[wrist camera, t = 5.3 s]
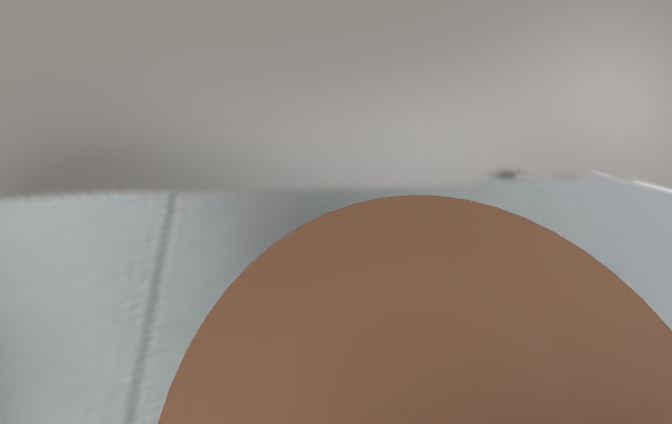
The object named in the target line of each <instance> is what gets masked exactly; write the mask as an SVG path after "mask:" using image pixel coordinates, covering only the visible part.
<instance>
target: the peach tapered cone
mask: <svg viewBox="0 0 672 424" xmlns="http://www.w3.org/2000/svg"><path fill="white" fill-rule="evenodd" d="M158 424H672V331H671V330H670V328H669V327H668V326H667V325H666V324H665V323H664V322H663V321H662V320H661V319H660V318H659V316H658V315H657V314H656V313H655V312H654V311H653V310H652V309H651V308H650V307H649V306H648V304H647V303H646V302H645V301H644V300H643V299H642V298H641V297H640V296H639V295H638V294H636V293H635V292H634V291H633V290H632V289H631V288H630V287H629V286H628V285H627V284H625V283H624V282H623V281H622V280H621V279H620V278H619V277H618V276H617V275H616V274H614V273H613V272H612V271H611V270H609V269H608V268H607V267H605V266H604V265H603V264H601V263H600V262H599V261H597V260H596V259H595V258H593V257H592V256H591V255H590V254H588V253H587V252H586V251H584V250H583V249H581V248H579V247H578V246H576V245H574V244H573V243H571V242H570V241H568V240H566V239H565V238H563V237H561V236H560V235H558V234H557V233H555V232H553V231H551V230H549V229H547V228H545V227H543V226H541V225H539V224H537V223H535V222H532V221H530V220H528V219H526V218H524V217H521V216H518V215H516V214H513V213H510V212H508V211H505V210H502V209H499V208H497V207H493V206H489V205H485V204H481V203H477V202H473V201H469V200H464V199H456V198H449V197H442V196H414V195H408V196H398V197H388V198H379V199H375V200H370V201H366V202H361V203H357V204H353V205H350V206H347V207H344V208H341V209H339V210H336V211H333V212H330V213H327V214H325V215H323V216H321V217H319V218H317V219H315V220H313V221H311V222H309V223H307V224H305V225H303V226H301V227H299V228H298V229H296V230H295V231H293V232H292V233H290V234H288V235H287V236H285V237H284V238H282V239H281V240H279V241H278V242H276V243H275V244H274V245H272V246H271V247H270V248H269V249H268V250H266V251H265V252H264V253H263V254H262V255H261V256H259V257H258V258H257V259H256V260H255V261H253V262H252V263H251V264H250V265H249V266H248V267H247V268H246V269H245V270H244V271H243V273H242V274H241V275H240V276H239V277H238V278H237V279H236V280H235V281H234V282H233V283H232V284H231V285H230V286H229V287H228V289H227V290H226V291H225V293H224V294H223V295H222V297H221V298H220V299H219V301H218V302H217V303H216V305H215V306H214V307H213V309H212V310H211V311H210V313H209V314H208V315H207V317H206V318H205V320H204V322H203V323H202V325H201V327H200V329H199V330H198V332H197V334H196V335H195V337H194V339H193V341H192V342H191V344H190V346H189V347H188V349H187V351H186V353H185V355H184V357H183V360H182V362H181V364H180V366H179V369H178V371H177V373H176V375H175V378H174V380H173V382H172V384H171V387H170V389H169V392H168V395H167V398H166V401H165V404H164V407H163V410H162V413H161V416H160V419H159V422H158Z"/></svg>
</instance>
